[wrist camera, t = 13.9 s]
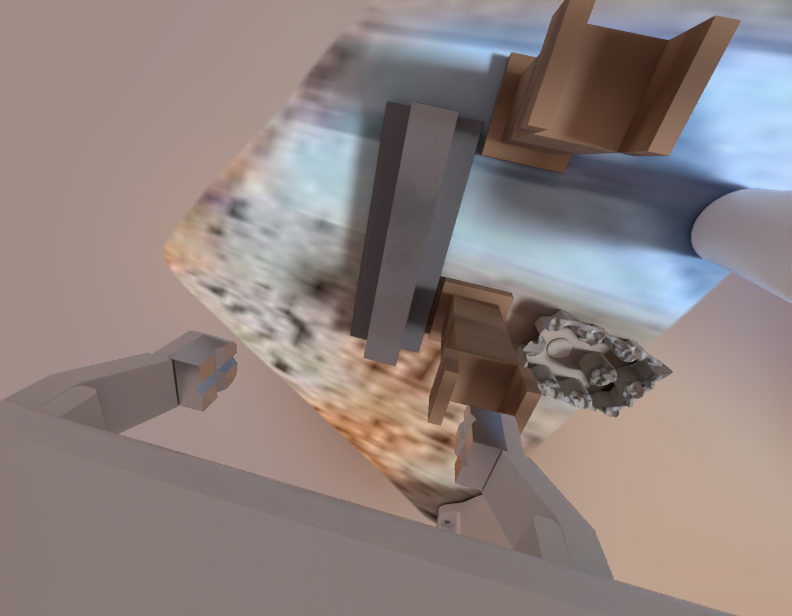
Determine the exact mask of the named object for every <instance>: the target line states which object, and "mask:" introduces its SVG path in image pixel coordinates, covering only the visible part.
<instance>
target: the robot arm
mask: <svg viewBox="0 0 792 616" xmlns="http://www.w3.org/2000/svg"><path fill="white" fill-rule="evenodd" d="M236 353H237V346H236V344H235V343H234V342H232V341H229V340H225V339H222V338H219V337H215V336H212V335H208V334H204V333H201V332H198V331H188V332H187V333H185V334H184V335H182V336H181V337H179V338H177V339H176V340H174V341H172V342H171V343H169V344H168V345H166V346H164V347H163V348H161V349H159V350H158V351H156V352H155V353H153V354H150V353H145V354H141V355H136V356H132V357H127V358H123V359H119V360H114V361H109V362H105V363H100V364H96V365H92V366H87V367H83V368H78V369H74V370H69V371H65V372H60V373H56V374H51V375H49V376H47V377H45V378H43V379H41V380H40V381H37V382H35V383H34V384H32V385H30V386H28V387H26V388H24V389H22V390H20V391H18V392H16V393H14V394H12V395H11V396H9V397H7V398H5V399H3V400H0V616H736V615H733V614H730V613H727V612H723V611H720V610H716V609H713V608H709V607H706V606H702V605H699V604H695V603H692V602H689V601H686V600H682V599H678V598H675V597H672V596H668V595H665V594H662V593H658V592H655V591H651V590H648V589H644V588H641V587H638V586H634V585H631V584H628V583H624V582H621V581H617V580H614V578H613V575H612V573H611V570H610V568H609V565H608V563H607V560H606V558H605V555H604V553H603V550H602V547H601V545H600V542H599V540H598V537H597V535H596V532H595V530H594V529H593V528H592V527H591V526H590V524H589V523H588V522H587V521H586V520H585V519H584V518H583V517H582V515H581V514H580V513H579V512H578V511H577V510H576V509H575V508H574V507H573V506H572V504H571V503H570V502H569V501H568V500H567V499H566V498H565V496H564V495H563V494H562V493H561V492H560V491H559V490H558V489H557V487H556V486H555V485H554V484H553V483H552V482H551V481H550V480H549V478H548V477H547V476H546V475H545V474H544V473H543V472H542V471H541V469H540V468H539V467H538V466H537V465H536V464H535V463H534V462H533V460H532V459H531V458H529V457H526V456H525V452H524V449H523V445H522V441H521V437H520V433H519V430H518V426H517V422H516V418H515V417H514V416H512V415H508V414H503V413H499V412H498V413H497V412H494V411H490V410H486V409H482V408H479V407H475V406H471V405H468V406H467V407H466V409H465V412H464V421H463V422H462V423H460V424H459V427H458V430H457V434H456V438H455V454H456V455H457V457H458V458H457V460H456V463H455V483H457V484H460V485H463V486H467V487H470V488H473V489H476V490H479V491H482V494H483V495H480V496H477V497H474V498H472V499H470V500H468V501H465V502H462V503H454V504H446V505H443V506H441V507H439V509H438V517H437V527H433V526H429V525H426V524H423V523H419V522H416V521H413V520H409V519H406V518H403V517H399V516H396V515H392V514H389V513H385V512H382V511H379V510H375V509H372V508H368V507H365V506H361V505H358V504H355V503H351V502H348V501H345V500H341V499H338V498H334V497H331V496H327V495H324V494H321V493H317V492H314V491H311V490H307V489H304V488H300V487H297V486H294V485H290V484H286V483H283V482H280V481H276V480H273V479H270V478H266V477H263V476H259V475H256V474H253V473H249V472H246V471H242V470H239V469H236V468H232V467H229V466H225V465H221V464H218V463H215V462H212V461H208V460H205V459H201V458H198V457H194V456H191V455H188V454H184V453H180V452H178V451H174V450H171V449H167V448H164V447H160V446H157V445H153V444H150V443H147V442H143V441H140V440H136V439H133V438H130V437H126V436H123V435H120V434H119V433H121V432H123V431H125V430H127V429H129V428H132V427H134V426H136V425H138V424H141V423H143V422H145V421H147V420H149V419H151V418H154V417H156V416H158V415H160V414H162V413H165V412H167V411H169V410H171V409H174V408H176V407H178V405H180V406H184V407H188V408H192V409H196V410H200V411H204V410H205V409H206V408H207V407H208V406H209V405H210V404H211V403H212V402H213V401H214V400H215V399H216V398H217V392H219V391H222V390H225V389H226V388H227V387H228V386H229V385H230V384H231V383H232V381H233V380H234V378H235V376H236V372H237V362H236V361H235V359H234V357H233V356H234V355H235V354H236Z"/></svg>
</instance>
